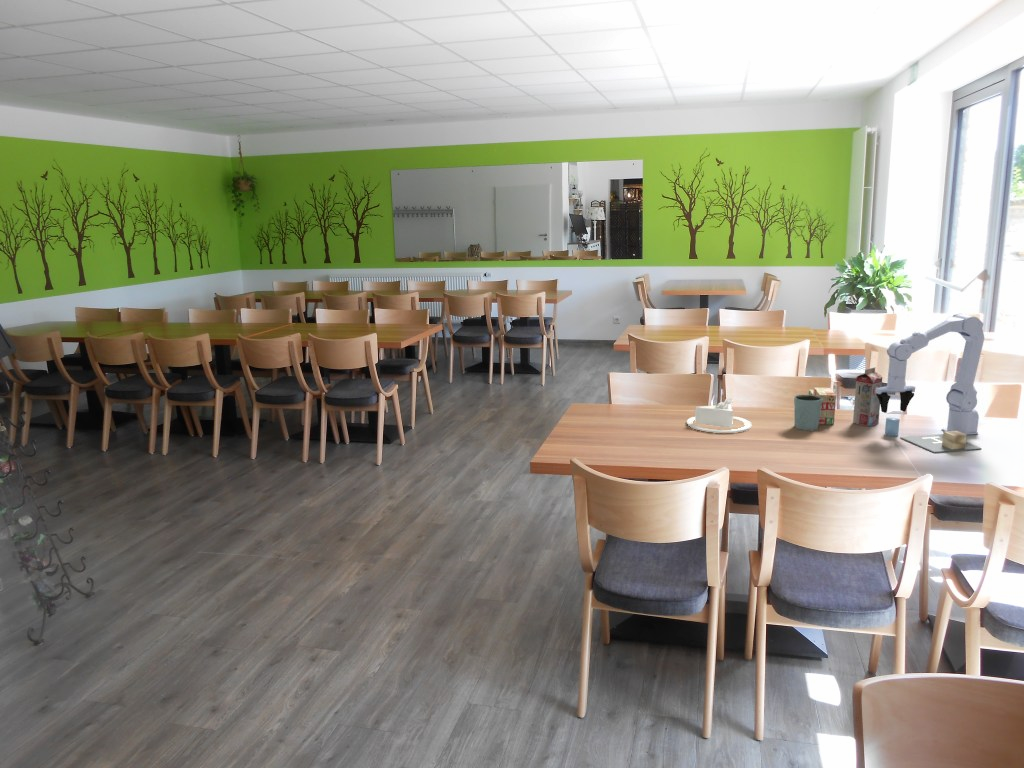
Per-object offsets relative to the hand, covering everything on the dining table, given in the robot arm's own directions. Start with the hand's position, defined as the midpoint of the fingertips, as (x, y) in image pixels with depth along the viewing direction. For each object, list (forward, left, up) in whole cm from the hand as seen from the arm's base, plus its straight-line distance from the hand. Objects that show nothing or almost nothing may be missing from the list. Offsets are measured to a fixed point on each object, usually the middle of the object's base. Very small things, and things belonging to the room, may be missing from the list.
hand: (893, 411), depth 281 cm
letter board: (-9, +14, -9) cm, 19 cm away
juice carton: (0, -16, -9) cm, 18 cm away
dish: (+56, -27, -9) cm, 63 cm away
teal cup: (+25, -16, -9) cm, 31 cm away
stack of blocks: (+12, -28, -9) cm, 32 cm away
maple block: (-10, +20, -8) cm, 24 cm away
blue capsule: (0, 0, -9) cm, 9 cm away
